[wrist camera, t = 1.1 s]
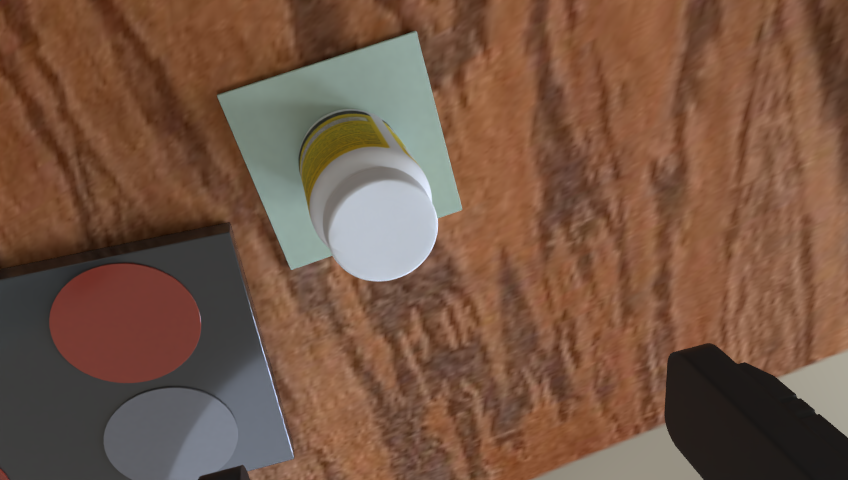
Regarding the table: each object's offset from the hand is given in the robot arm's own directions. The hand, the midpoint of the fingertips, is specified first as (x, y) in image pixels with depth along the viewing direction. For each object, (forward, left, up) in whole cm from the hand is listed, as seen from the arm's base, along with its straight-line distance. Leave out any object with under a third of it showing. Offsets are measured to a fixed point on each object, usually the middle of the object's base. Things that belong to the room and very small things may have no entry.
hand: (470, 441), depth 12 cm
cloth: (+1, 0, -20) cm, 20 cm away
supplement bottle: (+1, 0, -20) cm, 20 cm away
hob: (+10, -17, -20) cm, 28 cm away
